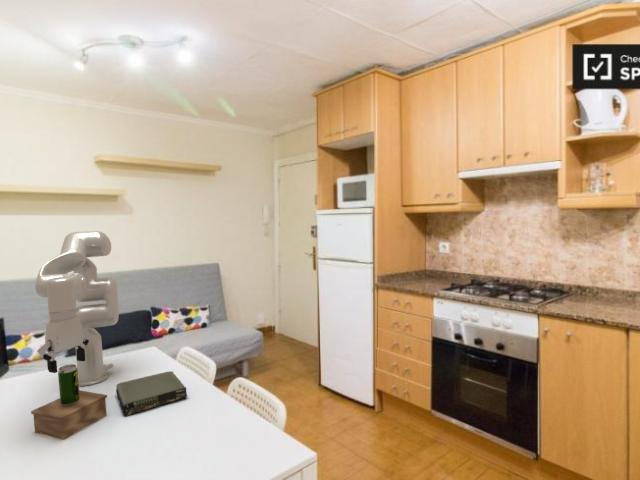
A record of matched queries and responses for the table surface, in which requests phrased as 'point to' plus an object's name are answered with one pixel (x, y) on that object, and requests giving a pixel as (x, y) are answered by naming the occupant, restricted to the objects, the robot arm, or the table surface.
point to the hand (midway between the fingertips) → (67, 366)
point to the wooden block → (69, 415)
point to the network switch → (149, 392)
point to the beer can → (68, 385)
